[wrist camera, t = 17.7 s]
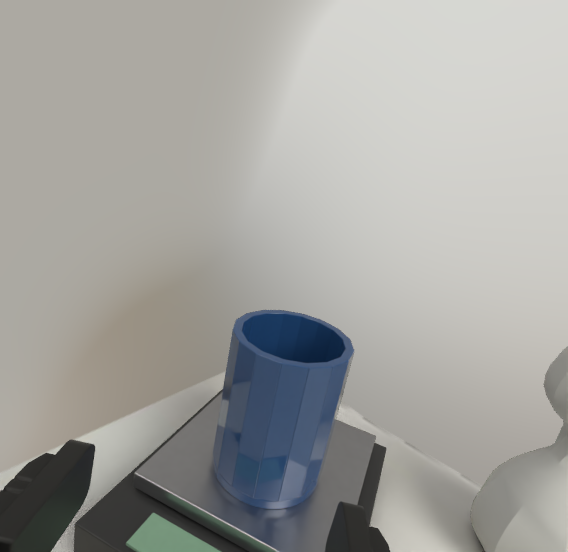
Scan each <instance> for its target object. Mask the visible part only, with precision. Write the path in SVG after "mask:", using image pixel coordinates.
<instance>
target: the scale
mask: <svg viewBox="0 0 568 552" xmlns="http://www.w3.org/2000/svg"><path fill="white" fill-rule="evenodd" d="M222 392H223V389H222V390H221V391H220V392H219V393H218V394H217V395H216V396H215V397H213V398H212V399H211V400H210V401H209V402H208V403H207V404H206V405H205V406H204V407H202V408H201V409H200V410H199V411H198V412H197V413H196V414H195V415H194V416H193V417H191V418H190V419H189V420H188V421H187V422H186V423H185V424H184V425H183V426H182V427H180V428H179V429H178V430H177V431H176V432H175V433H174V434H173V435H172V436H171V437H169V438H168V439H167V440H166V441H165V442H164V443H163V444H162V445H161V446H160V447H158V448H157V449H156V450H155V451H154V452H153V453H152V454H151V455H150V456H149V457H147V458H146V459H145V460H144V461H143V462H142V463H141V464H140V465H139V466H138V467H136V468H135V469H134V470H133V471H132V472H131V473H130V474H129V475H128V476H127V477H125V478H124V479H123V480H122V481H121V482H120V483H119V484H118V485H117V486H116V487H114V488H113V489H112V490H111V491H110V492H109V493H108V494H107V495H106V496H105V497H103V498H102V499H101V500H100V501H99V502H98V503H97V504H96V505H95V506H94V507H92V508H91V509H90V510H89V511H88V512H87V513H86V514H85V515H84V516H83V517H81V518H80V519H79V520H78V521H77V522H76V523H75V535H74V552H249V551H247V550H246V549H244V548H242V547H240V546H238V545H237V544H235V543H233V542H231V541H230V540H228V539H226V538H224V537H223V536H221V535H219V534H217V533H215V532H214V531H212V530H210V529H208V528H207V527H205V526H203V525H201V524H199V523H198V522H196V521H194V520H192V519H191V518H189V517H187V516H185V515H183V514H182V513H180V512H178V511H176V510H175V509H173V508H171V507H169V506H167V505H166V504H164V503H162V502H160V501H159V500H157V499H155V498H153V497H151V496H150V495H148V494H146V493H144V492H143V491H141V490H139V489H137V488H135V487H134V486H133V480H134V473H135V472H136V471H137V470H138V469H139V468H140V467H141V466H142V465H143V464H144V463H145V462H147V461H148V460H149V459H150V458H151V457H152V456H153V455H154V454H155V453H156V452H157V451H158V450H160V449H161V448H162V447H163V446H164V445H165V444H166V443H167V442H168V441H169V440H170V439H172V438H173V437H174V436H175V435H176V434H177V433H178V432H179V431H180V430H181V429H182V428H183V427H185V426H186V425H187V424H188V423H189V422H190V421H191V420H192V419H193V418H194V417H195V416H197V415H198V414H199V413H200V412H201V411H202V410H203V409H204V408H205V407H206V406H207V405H209V404H210V403H211V402H212V401H213V400H214V399H215V398H216V397H217V396H218V395H219V394H220V393H222ZM385 453H386V447H383V446H381V445H378V444H376V443H374V446H373V450H372V453H371V457H370V460H369V464H368V468H367V471H366V475H365V479H364V482H363V486H362V489H361V493H360V497H359V500H358V504H357V505H360V506H363V507H364V509H365V514H366V518H367V523H368V526H369V525H370V520H371V516H372V511H373V507H374V502H375V498H376V493H377V489H378V484H379V480H380V475H381V471H382V467H383V462H384V458H385Z"/></svg>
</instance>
